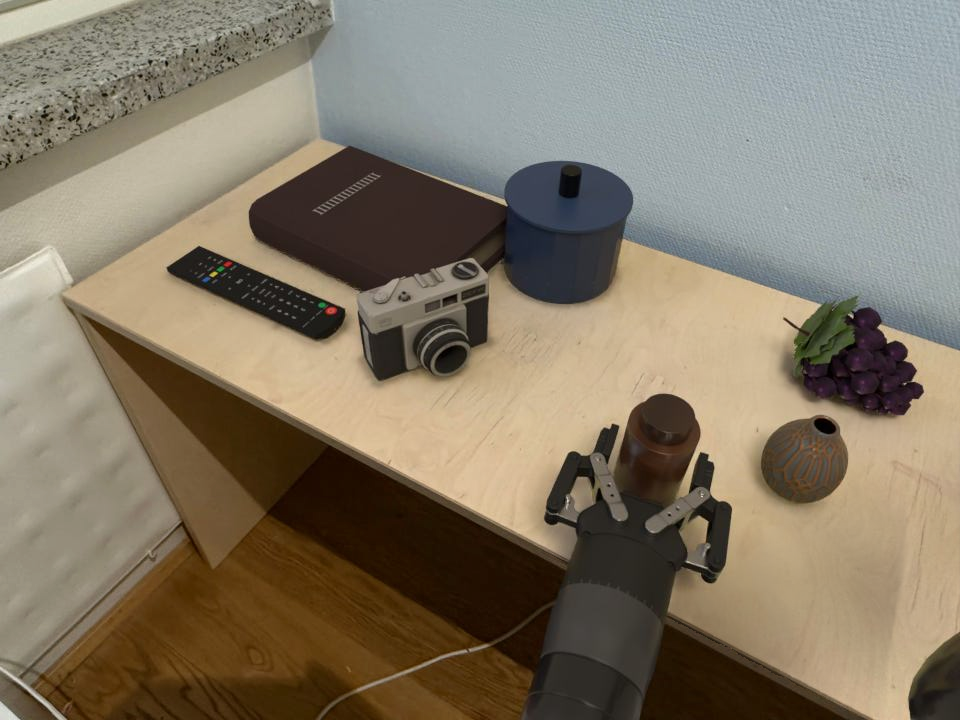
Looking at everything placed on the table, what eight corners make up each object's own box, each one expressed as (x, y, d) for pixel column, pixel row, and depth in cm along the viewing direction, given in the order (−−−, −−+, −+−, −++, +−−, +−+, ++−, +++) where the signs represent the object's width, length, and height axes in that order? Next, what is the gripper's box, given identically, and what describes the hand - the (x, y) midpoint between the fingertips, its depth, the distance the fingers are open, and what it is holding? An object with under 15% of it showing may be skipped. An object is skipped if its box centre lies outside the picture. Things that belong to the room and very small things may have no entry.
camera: (381, 405, 69) (371, 332, 62) (360, 349, 75) (349, 277, 68) (505, 372, 73) (509, 299, 66) (476, 321, 79) (476, 250, 72)
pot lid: (648, 188, 81) (655, 157, 78) (605, 253, 72) (612, 220, 69) (535, 157, 86) (538, 127, 83) (481, 215, 76) (482, 183, 73)
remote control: (201, 254, 86) (198, 245, 85) (349, 319, 78) (348, 310, 77) (169, 276, 83) (166, 267, 82) (320, 346, 75) (318, 337, 74)
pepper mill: (674, 497, 62) (714, 401, 52) (656, 546, 58) (695, 452, 49) (617, 473, 64) (645, 376, 54) (596, 519, 60) (622, 424, 50)
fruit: (869, 453, 70) (743, 373, 72) (897, 381, 75) (778, 309, 77) (942, 414, 61) (795, 324, 63) (969, 336, 66) (831, 255, 68)
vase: (759, 443, 66) (790, 384, 60) (832, 471, 64) (872, 412, 58) (744, 496, 62) (776, 438, 56) (822, 527, 60) (864, 470, 54)
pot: (628, 255, 88) (644, 184, 80) (590, 317, 79) (604, 245, 72) (531, 225, 92) (537, 156, 85) (485, 281, 84) (487, 209, 76)
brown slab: (254, 245, 88) (244, 206, 84) (354, 182, 99) (349, 145, 95) (423, 329, 77) (421, 289, 73) (513, 247, 89) (516, 209, 84)
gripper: (727, 636, 42) (756, 443, 53) (514, 555, 46) (582, 390, 57) (697, 679, 48) (729, 496, 58) (509, 603, 51) (572, 444, 62)
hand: (657, 444), depth 57 cm, fingers open, 7 cm apart
